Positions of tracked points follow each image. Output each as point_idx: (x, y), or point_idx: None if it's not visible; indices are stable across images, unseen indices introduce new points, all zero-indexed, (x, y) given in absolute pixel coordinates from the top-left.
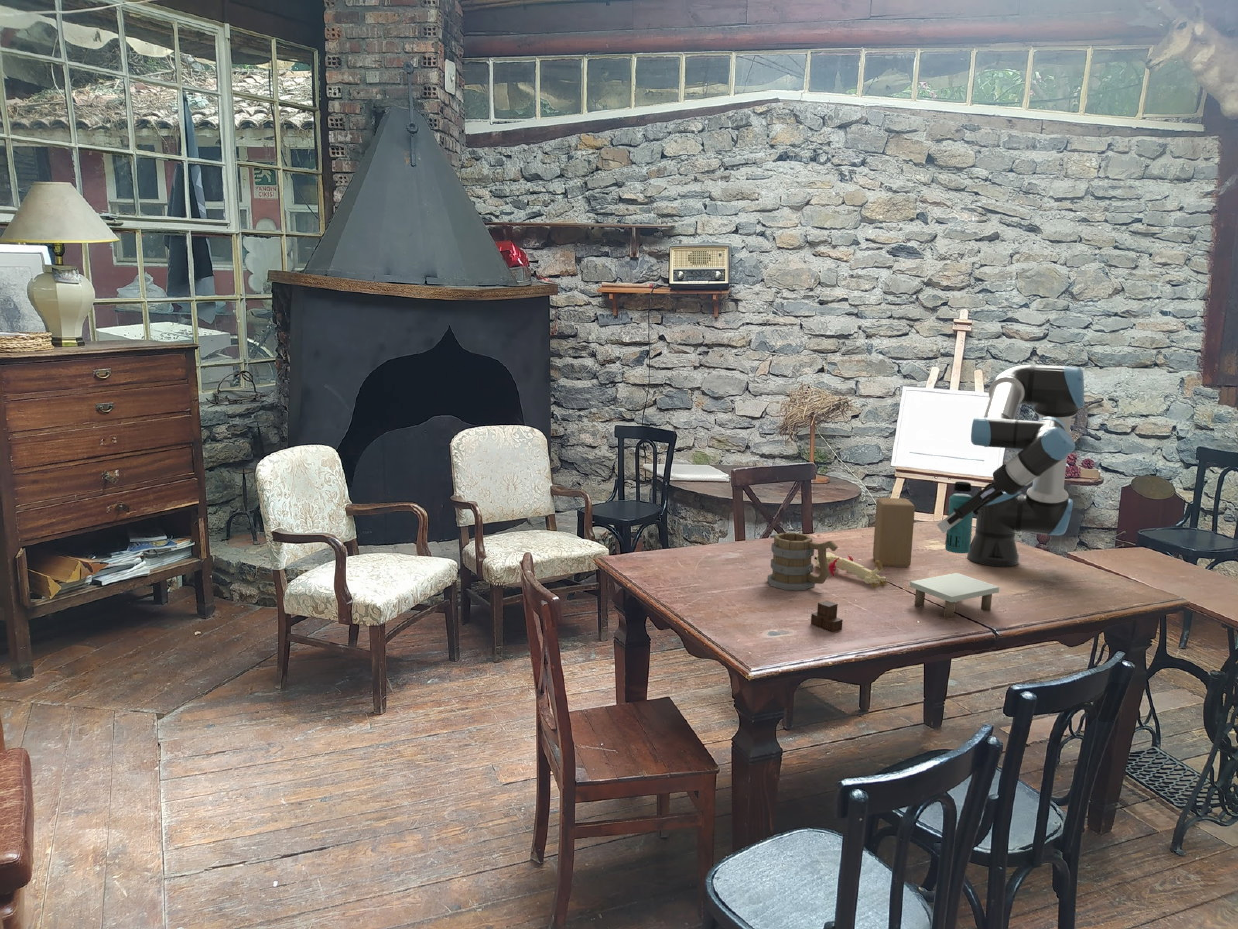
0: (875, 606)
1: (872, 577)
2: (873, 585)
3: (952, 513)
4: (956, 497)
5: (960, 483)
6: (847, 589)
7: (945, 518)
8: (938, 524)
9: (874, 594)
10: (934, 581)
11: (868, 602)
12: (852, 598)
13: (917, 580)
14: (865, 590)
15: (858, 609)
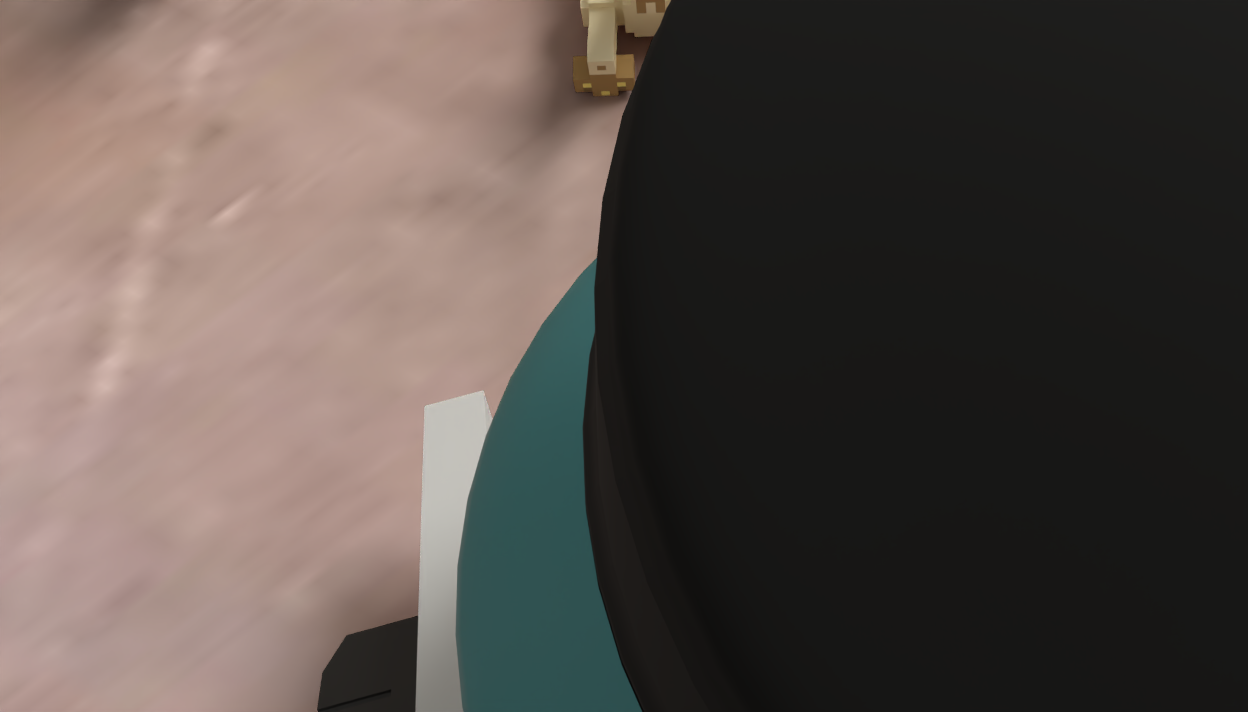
0: (228, 383)
1: (623, 4)
2: (574, 82)
3: (420, 698)
4: (557, 575)
5: (801, 365)
6: (391, 24)
7: (421, 539)
8: (432, 433)
9: (467, 191)
10: None
11: (265, 293)
12: (245, 175)
13: None
14: (487, 98)
15: (62, 364)
